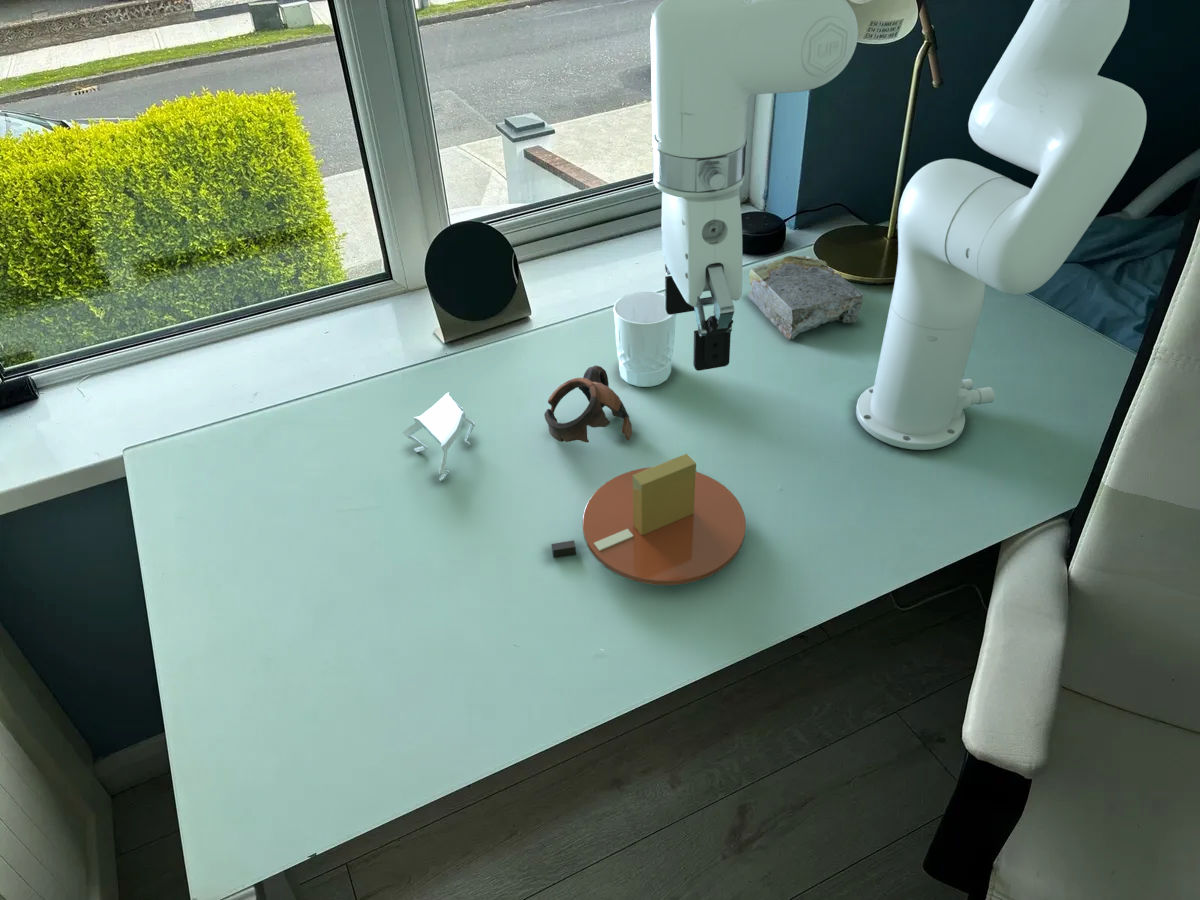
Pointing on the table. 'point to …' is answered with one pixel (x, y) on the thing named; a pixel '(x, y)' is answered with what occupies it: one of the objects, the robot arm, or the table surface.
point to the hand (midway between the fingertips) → (695, 337)
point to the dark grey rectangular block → (563, 549)
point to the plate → (671, 541)
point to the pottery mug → (594, 415)
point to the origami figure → (441, 427)
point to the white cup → (644, 338)
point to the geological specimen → (803, 294)
